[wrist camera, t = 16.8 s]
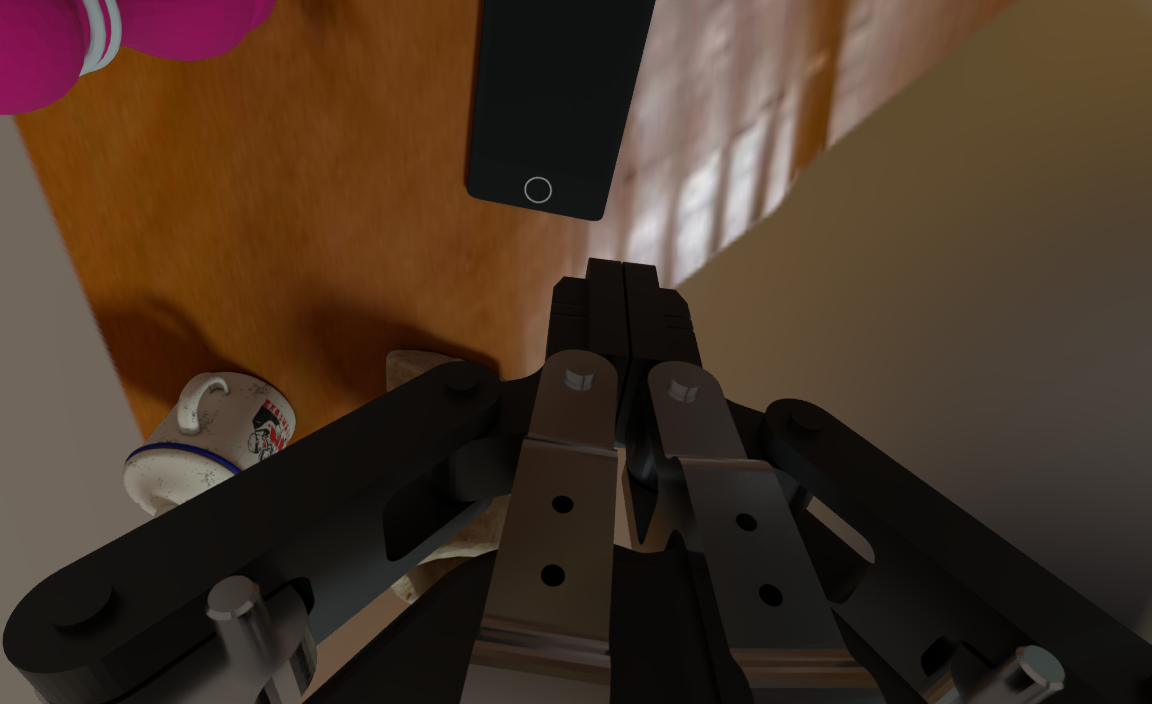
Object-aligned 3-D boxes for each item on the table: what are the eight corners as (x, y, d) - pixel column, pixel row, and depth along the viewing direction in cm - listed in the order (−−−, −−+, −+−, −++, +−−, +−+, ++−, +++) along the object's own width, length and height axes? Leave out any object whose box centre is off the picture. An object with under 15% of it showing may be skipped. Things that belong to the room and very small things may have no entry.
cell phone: (468, 191, 39) (466, 197, 38) (502, -167, 28) (499, -169, 27) (601, 217, 40) (601, 223, 39) (682, -121, 29) (685, -121, 28)
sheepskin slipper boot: (526, 483, 56) (508, 643, 44) (397, 468, 55) (343, 627, 43) (546, 356, 47) (530, 514, 35) (391, 335, 46) (321, 490, 34)
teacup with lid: (304, 453, 54) (245, 568, 44) (199, 438, 53) (115, 553, 44) (291, 348, 47) (216, 460, 37) (168, 329, 46) (61, 439, 36)
